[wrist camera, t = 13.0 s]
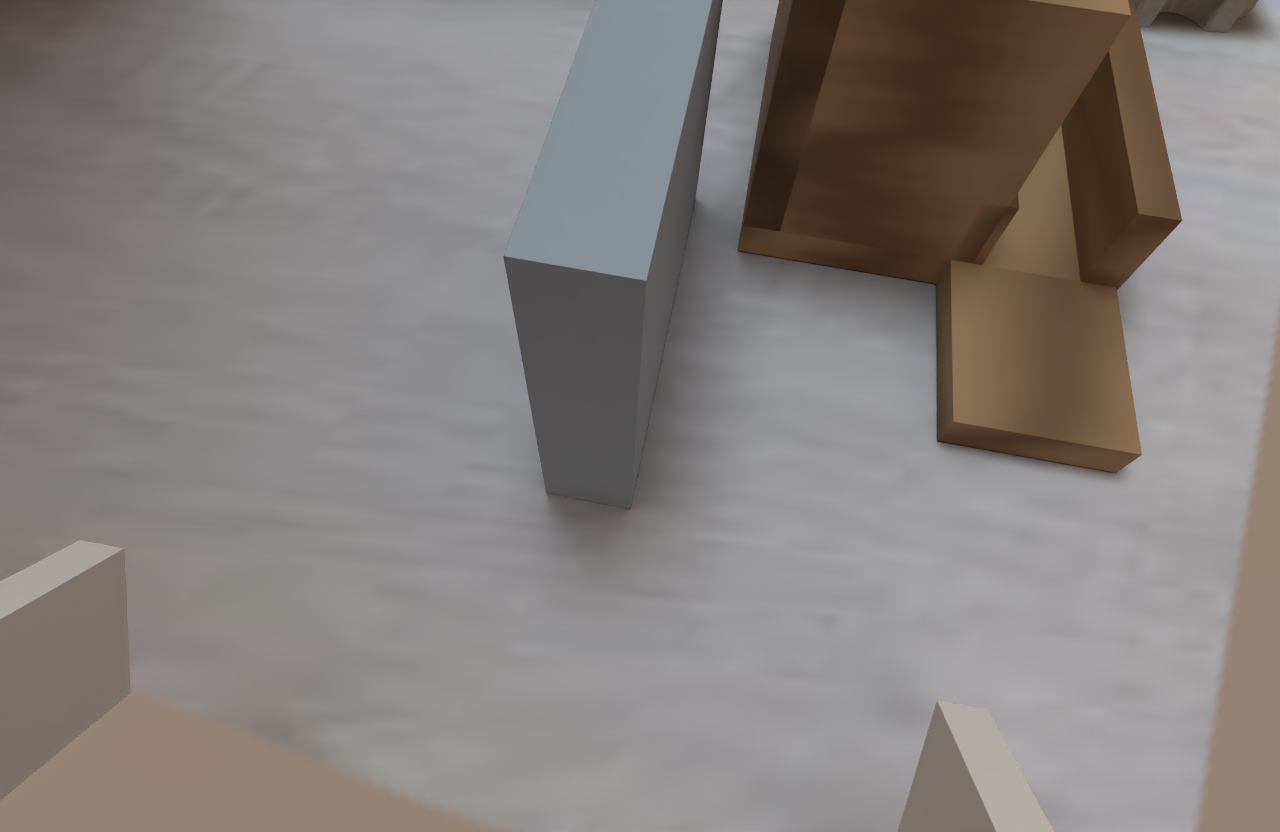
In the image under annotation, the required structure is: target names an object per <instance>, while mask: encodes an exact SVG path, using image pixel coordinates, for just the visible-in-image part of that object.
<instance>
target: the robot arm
mask: <svg viewBox="0 0 1280 832" xmlns="http://www.w3.org/2000/svg"><path fill="white" fill-rule="evenodd" d="M129 694H130V672H129V649H128V626H127V603H126V580H125V557H124V548H119V547H114V546H108V545H103V544H97V543H92V542H87V541H81V540H79V541H77V542H75V543H73V544H71V545H69V546H67V547H65V548H64V549H62V550H60V551H58V552H56V553H54V554H52V555H50V556H48V557H46V558H44V559H42V560H40V561H39V562H37V563H35V564H33V565H31V566H29V567H27V568H25V569H23V570H21V571H19V572H17V573H15V574H13V575H12V576H10V577H8V578H6V579H4V580H2V581H0V800H1V799H3V798H4V797H5V796H6V795H7V794H9V793H10V792H11V791H12V790H13V789H15V788H16V787H17V786H18V785H20V784H21V783H22V782H23V781H24V780H25V779H27V778H28V777H29V776H30V775H32V774H33V773H34V772H35V771H36V770H38V769H39V768H40V767H41V766H42V765H44V764H45V763H46V762H47V761H48V760H50V759H51V758H52V757H53V756H55V755H56V754H57V753H58V752H59V751H61V750H62V749H63V748H64V747H66V746H67V745H68V744H69V743H70V742H72V741H73V740H74V739H75V738H76V737H78V736H79V735H80V734H81V733H82V732H84V731H85V730H86V729H87V728H89V726H91V725H92V724H93V723H95V722H96V721H97V720H98V719H99V718H101V717H102V716H103V715H104V714H106V713H107V712H108V711H109V710H110V709H112V707H114V706H115V705H116V704H118V703H119V702H120V701H121V700H123V699H124V698H125V697H126V696H127V695H129ZM898 832H1054V831H1053V829H1052V828H1051V826H1050V824H1049V822H1048V820H1047V818H1046V816H1045V815H1044V813H1043V811H1042V809H1041V807H1040V805H1039V804H1038V802H1037V800H1036V798H1035V796H1034V794H1033V792H1032V791H1031V789H1030V787H1029V785H1028V783H1027V781H1026V779H1025V778H1024V776H1023V774H1022V772H1021V770H1020V768H1019V767H1018V765H1017V763H1016V761H1015V759H1014V757H1013V755H1012V754H1011V752H1010V750H1009V748H1008V746H1007V744H1006V743H1005V741H1004V739H1003V737H1002V735H1001V733H1000V731H999V730H998V728H997V726H996V724H995V722H994V720H993V719H992V717H991V715H990V713H989V711H988V710H987V709H982V708H977V707H971V706H966V705H960V704H955V703H950V702H944V701H939V700H937V702H936V706H935V709H934V712H933V716H932V719H931V722H930V726H929V729H928V732H927V736H926V739H925V742H924V746H923V749H922V752H921V756H920V759H919V762H918V766H917V769H916V772H915V776H914V779H913V782H912V786H911V789H910V792H909V796H908V799H907V802H906V806H905V809H904V812H903V816H902V819H901V822H900V826H899V829H898Z"/></svg>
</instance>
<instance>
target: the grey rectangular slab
mask: <svg viewBox="0 0 1280 832" xmlns="http://www.w3.org/2000/svg"><path fill="white" fill-rule="evenodd" d="M722 1H723V0H595V2H594V5H593V8H592V11H591V14H590V16H589V19H588V22H587V25H586V27H585V30H584V33H583V36H582V39H581V41H580V44H579V47H578V50H577V53H576V55H575V58H574V61H573V64H572V66H571V69H570V72H569V75H568V78H567V80H566V83H565V86H564V89H563V92H562V94H561V97H560V100H559V103H558V105H557V108H556V111H555V114H554V117H553V119H552V122H551V125H550V128H549V131H548V133H547V136H546V139H545V142H544V144H543V147H542V150H541V153H540V156H539V158H538V161H537V164H536V167H535V170H534V172H533V175H532V178H531V181H530V183H529V186H528V189H527V192H526V195H525V197H524V200H523V203H522V206H521V209H520V211H519V214H518V217H517V220H516V222H515V225H514V228H513V231H512V234H511V236H510V239H509V242H508V245H507V248H506V250H505V253H504V262H505V267H506V273H507V278H508V284H509V289H510V295H511V300H512V306H513V312H514V317H515V323H516V328H517V334H518V339H519V345H520V350H521V356H522V361H523V367H524V372H525V378H526V383H527V389H528V394H529V400H530V405H531V411H532V416H533V422H534V427H535V433H536V438H537V444H538V450H539V455H540V461H541V466H542V472H543V477H544V483H545V488H546V493H548V494H553V495H558V496H563V497H569V498H574V499H579V500H584V501H590V502H595V503H600V504H605V505H611V506H616V507H621V508H626V509H631V505H632V500H633V495H634V491H635V486H636V481H637V476H638V471H639V467H640V462H641V457H642V452H643V447H644V443H645V438H646V433H647V428H648V423H649V419H650V414H651V409H652V404H653V399H654V395H655V390H656V385H657V380H658V375H659V371H660V366H661V361H662V356H663V351H664V347H665V342H666V337H667V332H668V327H669V323H670V318H671V313H672V308H673V304H674V299H675V294H676V289H677V284H678V280H679V275H680V270H681V265H682V260H683V256H684V251H685V246H686V241H687V236H688V232H689V227H690V222H691V217H692V212H693V208H694V203H695V198H696V190H697V183H698V176H699V168H700V161H701V154H702V147H703V139H704V132H705V125H706V117H707V110H708V103H709V96H710V88H711V81H712V74H713V66H714V59H715V52H716V44H717V37H718V30H719V23H720V15H721V8H722Z"/></svg>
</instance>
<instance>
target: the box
mask: <svg viewBox="0 0 1280 832" xmlns="http://www.w3.org/2000/svg"><path fill="white" fill-rule="evenodd" d="M1181 221H1182V218H1181V213H1180V209H1179V204H1178V200H1177V195H1176V190H1175V186H1174V181H1173V177H1172V172H1171V168H1170V163H1169V158H1168V154H1167V149H1166V145H1165V140H1164V136H1163V131H1162V126H1161V122H1160V117H1159V113H1158V108H1157V103H1156V99H1155V94H1154V90H1153V85H1152V81H1151V76H1150V71H1149V67H1148V62H1147V58H1146V53H1145V49H1144V44H1143V39H1142V35H1141V30H1140V26H1139V21H1138V17H1137V12H1136V7H1135V3H1134V0H779V4H778V9H777V14H776V19H775V24H774V29H773V34H772V40H771V46H770V52H769V59H768V65H767V71H766V77H765V84H764V90H763V96H762V102H761V109H760V115H759V121H758V127H757V133H756V140H755V146H754V152H753V158H752V165H751V171H750V177H749V183H748V190H747V196H746V202H745V208H744V214H743V221H742V227H741V233H740V239H739V246H738V251H743V252H749V253H755V254H761V255H767V256H773V257H779V258H785V259H791V260H797V261H803V262H809V263H815V264H821V265H827V266H833V267H839V268H845V269H851V270H857V271H863V272H869V273H875V274H881V275H887V276H893V277H899V278H905V279H911V280H917V281H923V282H929V283H935V284H936V301H937V441H942V442H947V443H953V444H958V445H964V446H970V447H975V448H981V449H986V450H992V451H997V452H1003V453H1009V454H1014V455H1020V456H1025V457H1031V458H1037V459H1042V460H1048V461H1053V462H1059V463H1065V464H1070V465H1076V466H1081V467H1087V468H1093V469H1098V470H1104V471H1109V472H1115V473H1117V472H1118V471H1119V470H1121V469H1122V468H1124V467H1125V466H1126V465H1128V464H1129V463H1131V462H1132V461H1134V460H1135V459H1136V458H1138V457H1139V456H1141V455H1142V454H1141V447H1140V441H1139V434H1138V428H1137V421H1136V415H1135V408H1134V402H1133V395H1132V389H1131V382H1130V375H1129V369H1128V362H1127V356H1126V349H1125V343H1124V336H1123V330H1122V323H1121V316H1120V310H1119V303H1118V297H1117V290H1118V289H1119V288H1120V286H1121V285H1122V284H1123V283H1124V282H1125V281H1126V280H1127V279H1128V278H1129V277H1130V276H1131V275H1132V274H1133V273H1134V271H1135V270H1136V269H1137V268H1138V267H1139V266H1140V265H1141V264H1142V263H1143V262H1144V261H1145V260H1146V259H1147V258H1148V257H1149V255H1150V254H1151V253H1152V252H1153V251H1154V250H1155V249H1156V248H1157V247H1158V246H1159V245H1160V244H1161V243H1162V242H1163V240H1164V239H1165V238H1166V237H1167V236H1168V235H1169V234H1170V233H1171V232H1172V231H1173V230H1174V229H1175V228H1176V227H1177V226H1178V224H1179V223H1180V222H1181Z"/></svg>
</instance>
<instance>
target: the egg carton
mask: <svg viewBox="0 0 1280 832" xmlns="http://www.w3.org/2000/svg"><path fill="white" fill-rule="evenodd" d="M1257 1H1258V0H1134V3H1135V7H1136V12H1137V17H1138V21H1139V26H1140V27H1150V26H1151V24H1152V22H1153V20H1154V19H1155V18H1156V16H1157V15H1158V13H1162V12H1172V13H1177V14H1181V15H1183V16H1186V17H1188V18H1190V19H1191V20H1193V21H1195V22H1196V23H1197V24H1198V25H1199V26H1200V27H1201V28H1202V29H1203V30H1206V31H1218V32H1227V31H1228V30H1229V29H1230V28H1231V26H1232V25H1233V24H1234V22H1235V21H1236V19H1237V18H1241V17H1245V16H1246V15H1247V14H1248V12H1249V11H1250V10H1251V9H1252V8H1253V7H1254V5H1255V4H1256V3H1257Z"/></svg>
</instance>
